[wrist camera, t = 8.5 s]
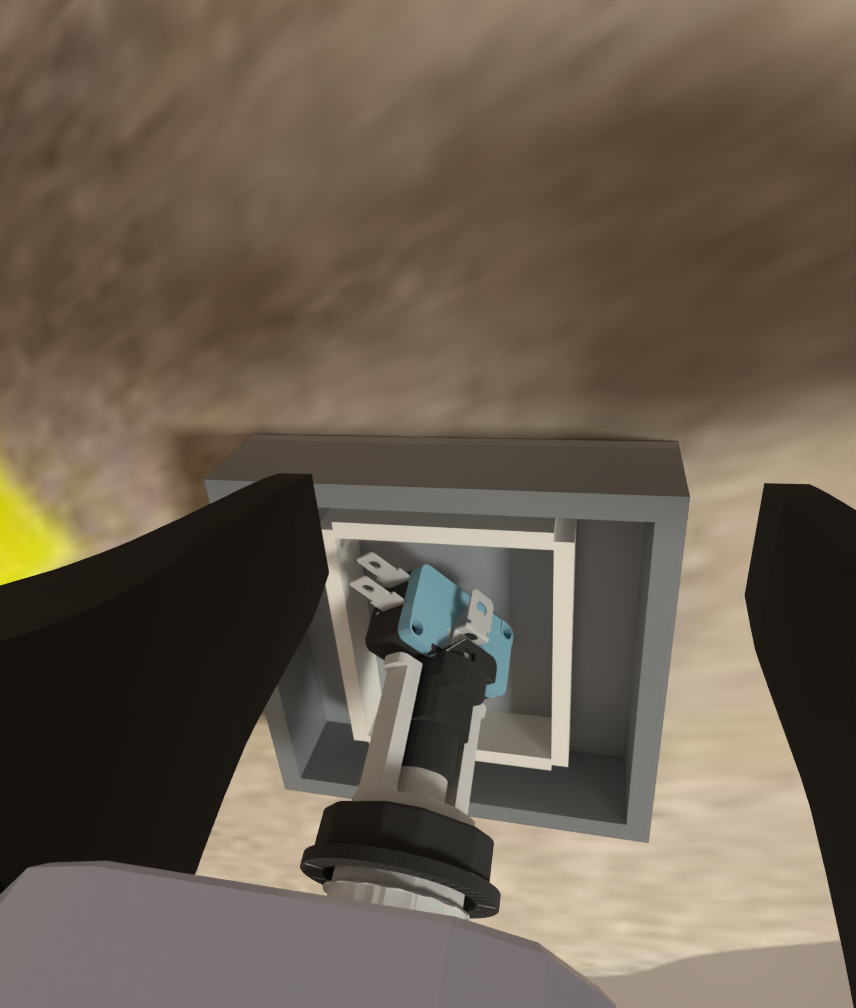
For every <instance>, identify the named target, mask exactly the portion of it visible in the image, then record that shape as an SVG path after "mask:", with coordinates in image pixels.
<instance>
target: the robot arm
mask: <svg viewBox="0 0 856 1008" xmlns="http://www.w3.org/2000/svg"><path fill="white" fill-rule="evenodd" d="M328 575H329V568H328V563H327V557H326V551H325V546H324V540H323V534H322V529H321V523H320V517H319V512H318V506H317V500H316V495H315V489H314V483H313V478H312V474H291V473H278V474H275V475H272V476H269V477H266V478H264V479H261V480H259V481H257V482H254V483H252V484H250V485H248V486H246V487H243V488H241V489H239V490H237V491H235V492H233V493H231V494H229V495H227V496H225V497H223V498H221V499H219V500H217V501H215V502H213V503H211V504H209V505H207V506H205V507H203V508H201V509H199V510H197V511H195V512H192V513H190V514H188V515H186V516H184V517H182V518H180V519H178V520H176V521H174V522H171V523H169V524H167V525H165V526H163V527H160V528H158V529H156V530H154V531H152V532H149V533H147V534H145V535H143V536H141V537H138V538H136V539H134V540H132V541H129V542H127V543H125V544H122V545H120V546H117V547H115V548H112V549H110V550H107V551H105V552H102V553H100V554H97V555H94V556H92V557H89V558H86V559H83V560H80V561H78V562H75V563H72V564H69V565H67V566H64V567H61V568H58V569H55V570H52V571H48V572H45V573H41V574H38V575H35V576H31V577H28V578H24V579H21V580H17V581H14V582H11V583H7V584H4V585H0V1008H616V1005H615V1004H614V1003H613V1002H612V1000H610V998H608V996H607V995H606V994H605V993H604V992H603V991H602V990H601V989H600V988H599V987H598V986H597V985H596V984H594V983H592V982H591V981H590V980H589V979H587V978H586V977H585V976H583V975H582V974H580V973H579V972H578V971H576V970H575V969H574V968H572V967H571V966H569V965H568V964H567V963H565V962H564V961H563V960H561V959H560V958H558V957H557V956H556V955H554V954H553V953H552V952H550V951H549V950H547V949H546V948H545V947H543V946H542V945H541V944H539V943H538V942H535V941H531V940H528V939H525V938H522V937H519V936H516V935H512V934H509V933H506V932H503V931H500V930H496V929H493V928H490V927H487V926H484V925H481V924H477V923H474V922H471V921H468V920H465V919H462V918H458V917H455V916H449V915H443V914H437V913H430V912H424V911H418V910H411V909H405V908H399V907H393V906H386V905H380V904H374V903H368V902H361V901H355V900H349V899H343V898H336V897H330V896H324V895H318V894H311V893H305V892H299V891H293V890H286V889H280V888H274V887H267V886H261V885H255V884H249V883H242V882H236V881H230V880H224V879H217V878H211V877H205V876H199V875H195V874H196V871H197V868H198V865H199V862H200V859H201V856H202V854H203V851H204V849H205V846H206V843H207V841H208V838H209V835H210V833H211V830H212V827H213V825H214V822H215V819H216V817H217V814H218V812H219V809H220V806H221V804H222V801H223V798H224V796H225V793H226V791H227V789H228V786H229V784H230V781H231V779H232V777H233V774H234V772H235V769H236V767H237V764H238V762H239V760H240V757H241V755H242V752H243V750H244V747H245V745H246V743H247V741H248V739H249V737H250V735H251V733H252V731H253V729H254V727H255V725H256V723H257V721H258V719H259V717H260V715H261V714H262V712H263V710H264V708H265V706H266V704H267V703H268V701H269V699H270V697H271V695H272V694H273V692H274V690H275V688H276V686H277V685H278V683H279V681H280V679H281V677H282V675H283V674H284V672H285V670H286V668H287V666H288V665H289V663H290V661H291V659H292V657H293V656H294V654H295V652H296V650H297V648H298V646H299V644H300V643H301V641H302V639H303V637H304V635H305V633H306V631H307V629H308V628H309V626H310V624H311V622H312V620H313V617H314V615H315V612H316V609H317V607H318V604H319V602H320V599H321V596H322V593H323V590H324V587H325V584H326V581H327V578H328ZM745 600H746V605H747V611H748V616H749V622H750V627H751V632H752V637H753V641H754V646H755V651H756V654H757V657H758V660H759V662H760V665H761V668H762V671H763V674H764V677H765V680H766V682H767V685H768V688H769V691H770V694H771V696H772V699H773V702H774V705H775V708H776V710H777V713H778V716H779V719H780V721H781V724H782V727H783V730H784V732H785V735H786V738H787V741H788V743H789V746H790V749H791V752H792V754H793V757H794V760H795V763H796V765H797V768H798V771H799V774H800V777H801V779H802V783H803V786H804V789H805V792H806V796H807V799H808V802H809V805H810V809H811V813H812V817H813V821H814V825H815V829H816V834H817V838H818V842H819V846H820V850H821V855H822V859H823V863H824V867H825V871H826V876H827V880H828V885H829V889H830V894H831V899H832V903H833V908H834V913H835V917H836V922H837V926H838V931H839V936H840V940H841V945H842V950H843V954H844V959H845V964H846V969H847V975H848V980H849V985H850V990H851V996H852V1000H853V1006H854V1008H856V510H855V509H853V508H851V507H850V506H848V505H846V504H845V503H843V502H842V501H840V500H838V499H836V498H835V497H833V496H831V495H830V494H828V493H826V492H824V491H822V490H820V489H818V488H816V487H814V486H812V485H810V484H772V483H764V488H763V494H762V500H761V505H760V511H759V517H758V522H757V528H756V534H755V539H754V545H753V551H752V556H751V562H750V568H749V573H748V579H747V585H746V590H745Z"/></svg>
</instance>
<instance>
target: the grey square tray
mask: <svg viewBox="0 0 856 1008" xmlns="http://www.w3.org/2000/svg"><path fill="white" fill-rule="evenodd" d="M278 473H291V474H312V478H313V483H314V489H315V495H316V500H317V506H318V512H319V517H320V522H321V521H322V519H323V518H324V516H325V515H326V513H327V512H328V511H329V509H330V508H342V509H365V510H388V511H410V512H433V513H455V514H478V515H501V516H523V517H546V518H568V519H577V529H576V562H575V595H574V628H573V662H572V695H571V727H570V743H569V760H568V767H564V766H556V765H552V767H551V770H543V769H535V768H527V767H520V766H512V765H504V764H497V763H489V762H481V761H475V765H474V772H473V779H472V786H471V794H470V801H469V808H468V815H467V816H470V817H477V818H483V819H490V820H497V821H504V822H510V823H517V824H524V825H531V826H537V827H544V828H551V829H557V830H564V831H571V832H578V833H584V834H591V835H598V836H605V837H611V838H618V839H625V840H631V841H638V842H645V843H649V835H650V827H651V818H652V810H653V802H654V793H655V785H656V777H657V768H658V760H659V752H660V743H661V735H662V727H663V718H664V710H665V702H666V693H667V685H668V677H669V668H670V660H671V651H672V643H673V635H674V626H675V618H676V610H677V601H678V593H679V585H680V576H681V568H682V560H683V551H684V543H685V535H686V526H687V518H688V510H689V501H690V495H689V490H688V485H687V481H686V476H685V472H684V467H683V462H682V458H681V453H680V448H679V444H678V442H658V441H602V440H547V439H491V438H435V437H380V436H324V435H268V434H254V435H252V436H251V437H250V438H249V439H248V440H247V441H246V442H245V443H244V444H243V445H241V446H240V447H239V448H238V449H237V450H236V451H235V452H234V453H233V454H231V455H230V456H229V457H228V458H227V459H226V460H225V461H224V462H223V463H222V464H220V465H219V466H218V467H217V468H216V469H215V470H214V471H213V472H212V473H210V474H209V475H208V476H207V477H206V478H205V479H204V483H205V487H206V491H207V494H208V498H209V502H210V504H211V503H213V502H215V501H217V500H219V499H221V498H223V497H225V496H227V495H229V494H231V493H233V492H235V491H237V490H239V489H241V488H243V487H246V486H248V485H250V484H252V483H254V482H257V481H259V480H261V479H264V478H266V477H269V476H272V475H275V474H278ZM358 540H359V547H360V554H361V556H363V555H365V554H367V553H369V552H373V553H375V554H376V555H378V556H379V557H381V558H382V559H383V560H385V561H386V562H387V563H389V564H390V565H391V566H393V567H394V568H396V569H398V568H401V569H402V570H403V571H405V572H408V571H411V570H413V569H416V568H418V567H421V566H423V565H426V564H428V565H430V566H432V567H433V568H434V569H436V570H437V571H438V572H439V573H441V574H442V575H443V576H445V577H446V578H447V579H449V580H450V581H451V582H453V583H454V584H455V585H456V586H458V587H459V588H460V589H462V590H463V591H464V592H466V593H467V594H468V595H470V594H471V591H473V590H475V589H477V590H478V591H480V592H481V593H482V594H484V595H485V596H486V597H487V598H489V599H490V600H491V601H492V604H493V606H494V609H493V614H494V615H496V616H497V617H498V618H500V619H501V620H503V621H505V622H506V623H507V624H508V625H509V626H510V627H511V629H512V631H513V643H512V646H511V654H510V662H509V670H508V679H507V687H506V692H505V694H504V695H502V696H498V697H493V698H489V699H485V700H484V701H483V704H484V705H485V706H486V710H488V711H497V712H506V713H515V714H524V715H533V716H542V717H551V718H552V663H553V577H554V550H542V549H524V548H506V547H487V546H469V545H451V544H433V543H415V542H397V541H378V540H360V539H358ZM369 564H370V565H372V566H374V567H380V566H381V565H380V564H379V563H378V562H375V561H371V562H369ZM362 567H363V574H364V576H367V577H369V578H370V579H371V580H373V581H374V582H376V583H377V584H378V585H380V586H381V587H383V588H384V589H385V588H386V586H385V585H384V584H383V583H381V582H380V581H378V580H377V577H378V576H376V575H375V574H373V573H372V572H371V571H369V570H368V569H366V568H365V567H364V566H362ZM365 587H366V590H369V591H372V590H374V588H373V587H371V586H369V585H365ZM367 600H368V607H369V614H370V620H371V616H372V612H373V610H374V608H375V607H376V606H374V605H373V604H371V603H370V601H371V600H370V599H369V598H367ZM479 603H480V604H481V605H483V604H482V603H481V602H479ZM376 661H377V667H378V674H379V681H380V687H381V694H382V691H383V687H384V682H385V678H386V674H387V671H386V670H385V669H384V668H383V665H384V660H383V659H381V658H380V657H378V656H376ZM264 710H265V714H266V718H267V722H268V725H269V729H270V733H271V737H272V740H273V744H274V748H275V752H276V756H277V759H278V763H279V767H280V771H281V775H282V778H283V782H284V786H285V789H288V790H295V791H302V792H309V793H315V794H322V795H329V796H335V797H342V798H349V799H352V798H353V795H354V794H355V792H356V791H357V789H358V786H359V784H360V781H361V777H362V773H363V769H364V765H365V760H366V756H367V752H368V748H369V742H367V741H359V740H354V737H353V731H352V726H351V720H350V715H349V710H348V704H347V699H346V693H345V688H344V682H343V677H342V671H341V666H340V660H339V655H338V650H337V644H336V639H335V633H334V628H333V622H332V617H331V611H330V606H329V600H328V595H327V590H326V584H325V587H324V590H323V593H322V596H321V599H320V602H319V604H318V607H317V609H316V612H315V615H314V617H313V620H312V622H311V624H310V626H309V628H308V629H307V631H306V633H305V635H304V637H303V639H302V641H301V643H300V644H299V646H298V648H297V650H296V652H295V654H294V656H293V657H292V659H291V661H290V663H289V665H288V666H287V668H286V670H285V672H284V674H283V675H282V677H281V679H280V681H279V683H278V685H277V686H276V688H275V690H274V692H273V694H272V695H271V697H270V699H269V701H268V703H267V704H266V706H265V708H264Z"/></svg>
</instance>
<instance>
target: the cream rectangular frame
mask: <svg viewBox="0 0 856 1008" xmlns="http://www.w3.org/2000/svg"><path fill="white" fill-rule="evenodd" d="M320 523H321V529H322V534H323V540H324V546H325V551H326V557H327V563H328V568H329V575H328V578H327V581H326V590H327V595H328V600H329V606H330V611H331V617H332V622H333V628H334V633H335V639H336V644H337V650H338V655H339V660H340V666H341V671H342V677H343V682H344V688H345V693H346V699H347V704H348V710H349V715H350V720H351V726H352V731H353V737H354V740H359V741H367V742H369V744H370V740H371V736H372V732H373V728H374V723H375V719H376V715H377V711H378V707H379V703H380V699H381V695H382V694H381V687H380V681H379V674H378V667H377V661H376V655H375V654H373V653H372V652H370V651H369V650H368V649H367V647H366V644H365V638H366V634H367V630H368V627H369V623H370V614H369V607H368V600H367V597H366V596H364V595H363V594H362V593H360V592H359V591H357V590H356V589H354V588H353V587H351V586H350V581H352V580H355V579H357V578H359V577H362V576H364V574H363V567H362V565H361V564H359V563H358V562H357V558H359V557H361V554H360V547H359V540H358V539H360V540H378V541H397V542H415V543H433V544H451V545H469V546H487V547H506V548H524V549H542V550H554V577H553V663H552V718H551V717H542V716H533V715H524V714H515V713H506V712H497V711H488V710H486V712H485V718H483V719H481V722H480V730H479V737H478V744H477V751H476V758H475V761H481V762H489V763H497V764H504V765H512V766H520V767H527V768H535V769H543V770H551V767H552V765H556V766H564V767H568V760H569V743H570V727H571V695H572V662H573V628H574V595H575V562H576V529H577V519H568V518H546V517H523V516H501V515H478V514H455V513H433V512H410V511H388V510H365V509H342V508H330V509H329V511H328V512H327V513H326V515H325V516H324V518H323V519H322V521H321V522H320ZM362 587H363V588H364V589H366V587H365V585H363V586H362Z"/></svg>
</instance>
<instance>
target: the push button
mask: <svg viewBox="0 0 856 1008" xmlns="http://www.w3.org/2000/svg"><path fill="white" fill-rule="evenodd" d="M371 561H375V562H378V563H379V564H380V565H381V566H380V567H374V566H372V565H370V564H369V562H371ZM357 562H358V563H359V564H361V565H362V566H364V567H365V568H366V569H368V570H369V571H371V572H372V573H373V574H375V575H376V576H378V577H377V580H378V581H380V582H381V583H383V584H384V585H385V586H386V588H385V589H384V588H383V587H381V586H380V585H378V584H377V583H376V582H374V581H373V580H371V579H370V578H369V577H367V576H362V577H359V578H357V579H355V580H352V581H350V586H351V587H353V588H354V589H356V590H357V591H359V592H360V593H362V594H363V595H364V596H366V597H367V598H369V599H370V600H371V601H370V603H371V604H373V605H374V606H376V607H375V608H374V610H373V612H372V616H371V620H370V623H369V627H368V630H367V634H366V638H365V644H366V647H367V649H368V650H369V651H370V652H372V653H373V654H375V655H376V656H378V657H380V658H381V659H383V660H384V665H383V668H384V669H385V670H386V671H387V674H386V678H385V682H384V687H383V691H382V695H381V699H380V703H379V707H378V711H377V715H376V719H375V723H374V728H373V732H372V736H371V740H370V744H369V748H368V752H367V756H366V760H365V765H364V769H363V773H362V777H361V781H360V784H359V786H358V789H357V791H356V792H355V794H354V795H353V798H352V801H339V802H336V803H334V804H332V805H330V806H328V807H326V808H325V809H324V812H323V816H322V819H321V823H320V827H319V830H318V834H317V838H316V842H315V845H313V846H310V847H308V848H306V849H305V850H304V853H303V857H302V860H301V864H300V869H301V871H302V872H303V873H304V874H305V875H307V876H308V877H309V878H311V879H313V880H314V881H316V882H318V883H320V884H322V885H323V890H324V892H326V893H328V894H327V896H330V897H336V898H343V899H349V900H355V901H361V902H368V903H374V904H380V905H386V906H393V907H399V908H405V909H411V910H418V911H424V912H430V913H437V914H443V915H449V916H455V917H458V918H462V919H465V920H468V921H470V918H486V917H491V916H494V915H496V914H497V913H498V912H499V906H500V896H501V895H500V892H499V890H498V889H497V888H496V887H495V886H493V885H492V884H491V883H489V882H490V873H491V864H492V855H493V847H494V842H493V840H492V839H491V838H490V837H489V836H488V835H486V834H485V833H483V832H482V831H481V830H479V829H478V828H476V827H475V826H474V824H475V821H473V820H472V819H471V818H470V817H469V816H467V815H468V808H469V801H470V794H471V786H472V779H473V772H474V765H475V758H476V751H477V744H478V737H479V730H480V722H481V719H483V718H485V712H486V706H485V705H484V704H483V701H484V700H485V699H489V698H493V697H498V696H502V695H504V694H505V692H506V687H507V679H508V670H509V662H510V654H511V646H512V643H513V631H512V629H511V627H510V626H509V625H508V624H507V623H506V622H505V621H503V620H501V619H500V618H498V617H497V616H496V615H494V614H493V609H494V606H493V604H492V601H491V600H490V599H489V598H487V597H486V596H485V595H484V594H482V593H481V592H480V591H478V590H477V589H475V590H473V591H471V594H470V595H468V594H467V593H466V592H464V591H463V590H462V589H460V588H459V587H458V586H456V585H455V584H454V583H453V582H451V581H450V580H449V579H447V578H446V577H445V576H443V575H442V574H441V573H439V572H438V571H437V570H436V569H434V568H433V567H432V566H430V565H428V564H426V565H423V566H421V567H418V568H416V569H413V570H411V571H408V572H405V571H403V570H402V569H401V568H398V569H396V568H394V567H393V566H391V565H390V564H389V563H387V562H386V561H385V560H383V559H382V558H381V557H379V556H378V555H376V554H375V553H373V552H369V553H367V554H365V555H363V556H361V557H359V558H357ZM363 585H369V586H371V587H373V588H374V590H372V591H369V590H366V589H364V588H363V587H362V586H363ZM479 602H481V603H482V604H483V605H481V604H480V603H479Z"/></svg>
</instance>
